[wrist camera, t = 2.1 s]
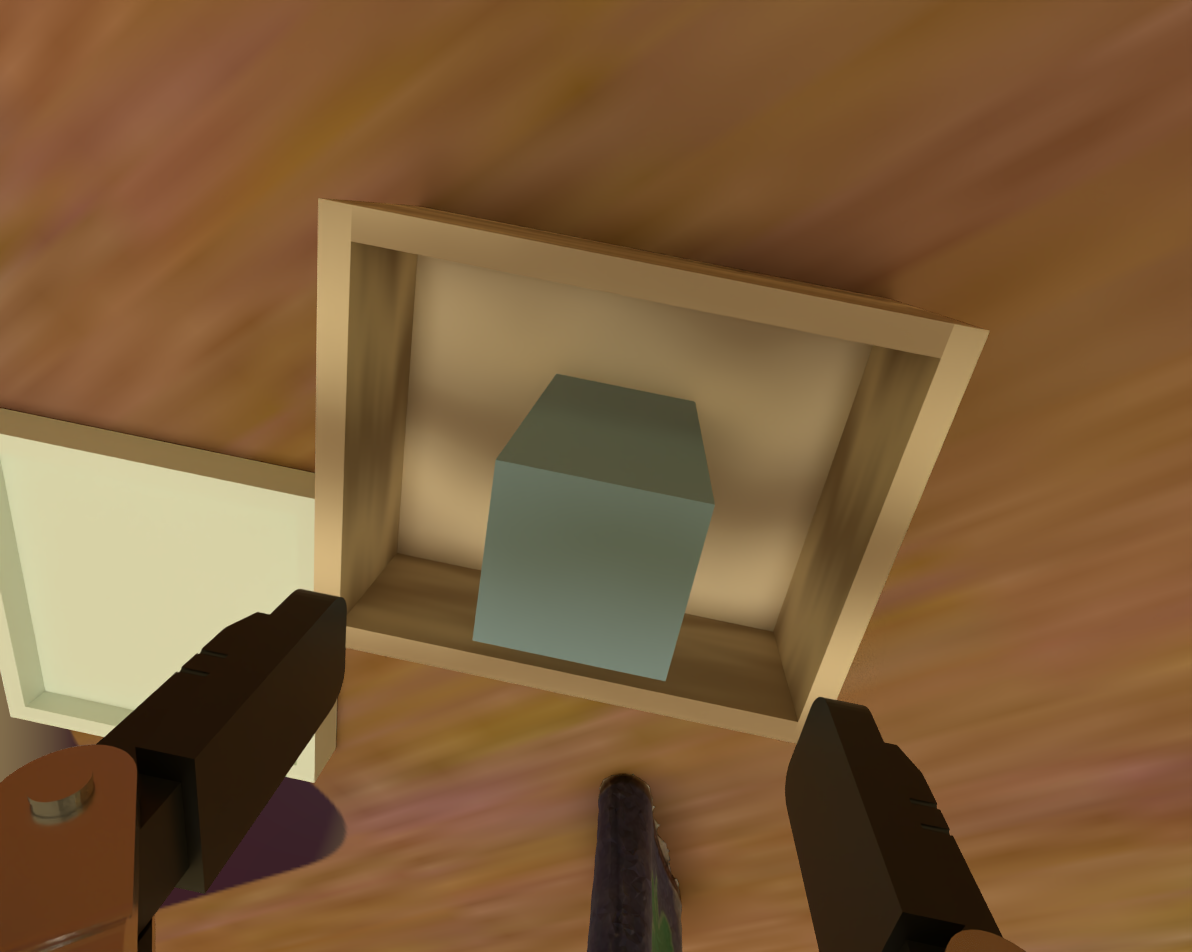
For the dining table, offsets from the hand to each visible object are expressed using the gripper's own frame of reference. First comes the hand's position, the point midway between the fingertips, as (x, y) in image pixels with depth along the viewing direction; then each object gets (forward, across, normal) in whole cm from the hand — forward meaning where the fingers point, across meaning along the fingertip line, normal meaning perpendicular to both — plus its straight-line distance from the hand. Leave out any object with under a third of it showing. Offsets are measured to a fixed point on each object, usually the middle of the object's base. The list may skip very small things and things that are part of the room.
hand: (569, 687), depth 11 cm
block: (+11, 0, 0) cm, 11 cm away
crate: (+13, 0, 0) cm, 13 cm away
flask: (+14, -5, +20) cm, 24 cm away
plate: (+13, +17, +10) cm, 24 cm away
